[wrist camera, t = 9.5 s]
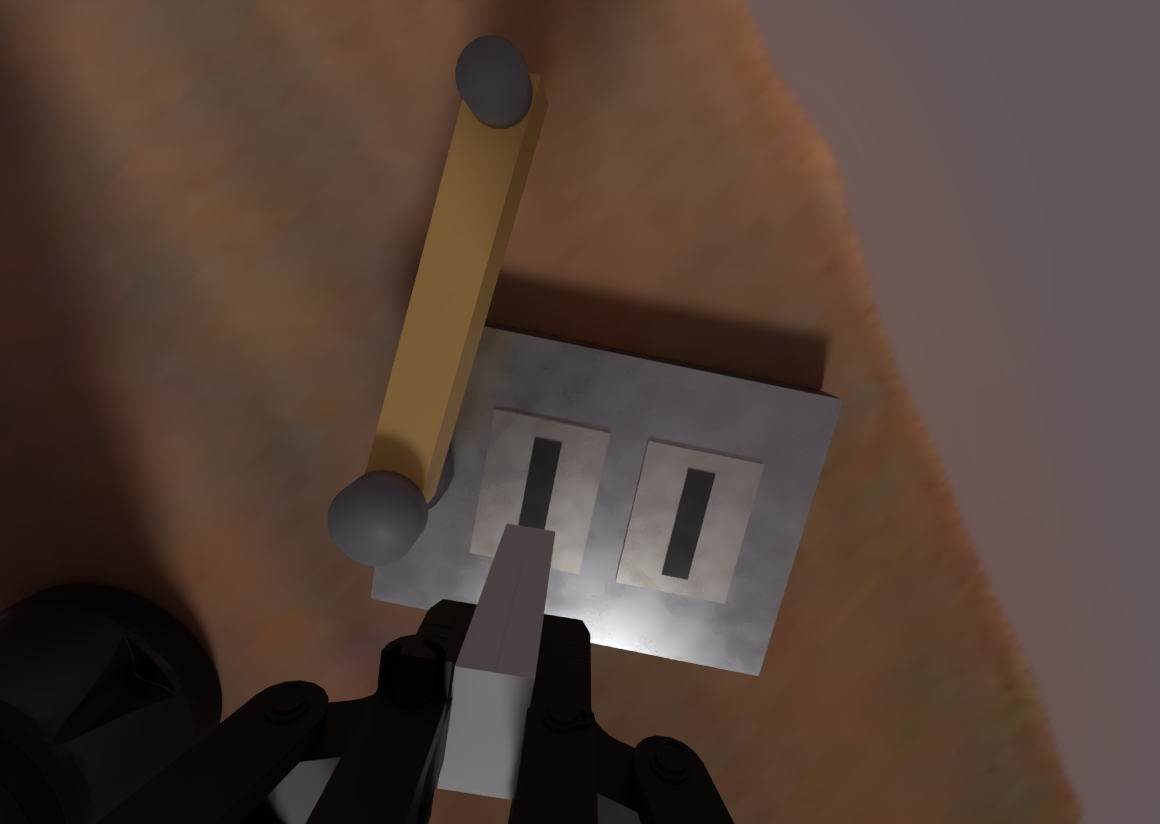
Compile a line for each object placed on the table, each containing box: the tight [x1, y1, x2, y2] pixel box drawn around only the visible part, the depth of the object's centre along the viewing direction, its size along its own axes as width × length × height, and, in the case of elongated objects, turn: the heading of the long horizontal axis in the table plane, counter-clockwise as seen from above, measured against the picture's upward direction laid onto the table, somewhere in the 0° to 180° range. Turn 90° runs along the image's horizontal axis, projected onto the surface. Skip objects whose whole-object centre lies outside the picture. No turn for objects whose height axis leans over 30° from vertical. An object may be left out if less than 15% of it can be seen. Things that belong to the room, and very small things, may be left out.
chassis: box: [371, 322, 843, 676], centre depth 29 cm, size 22×16×5 cm
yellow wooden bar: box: [328, 36, 548, 566], centre depth 22 cm, size 20×4×5 cm, turn 162°
